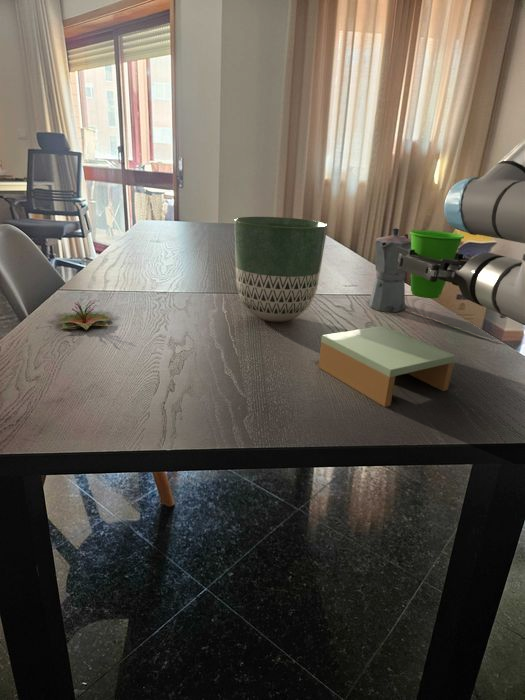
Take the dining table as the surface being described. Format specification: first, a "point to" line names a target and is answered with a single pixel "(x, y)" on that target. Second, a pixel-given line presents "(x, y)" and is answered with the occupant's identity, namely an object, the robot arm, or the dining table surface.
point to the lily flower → (83, 318)
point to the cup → (433, 247)
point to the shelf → (382, 361)
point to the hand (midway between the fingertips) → (419, 254)
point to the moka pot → (389, 274)
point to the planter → (278, 264)
